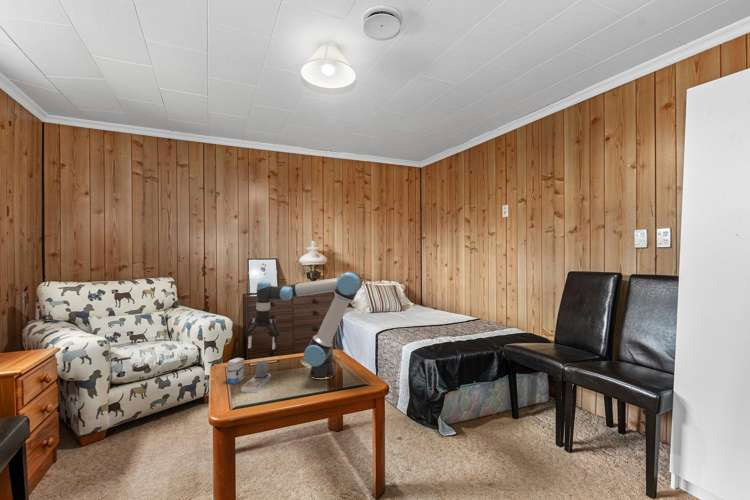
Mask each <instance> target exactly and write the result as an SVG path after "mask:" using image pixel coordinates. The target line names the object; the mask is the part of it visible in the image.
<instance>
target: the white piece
mask: <svg viewBox="0 0 750 500" xmlns="http://www.w3.org/2000/svg"><path fill="white" fill-rule="evenodd" d="M271 379H272V373H267V377H266V378H255V375H254V376H253V377H251V378H250V379H249V380H247V381H246V382H245V383H243V384H242V386H241V387H240V392H241V393H258V392H260V390H261V389H262V388H263V387H264V386H265V385H266V384H267V383H268V382H269V381H270V380H271Z"/></svg>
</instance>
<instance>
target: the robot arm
mask: <svg viewBox="0 0 750 500" xmlns="http://www.w3.org/2000/svg"><path fill="white" fill-rule="evenodd" d="M362 286H363V278H362V277H361V275H360V274H359V273H357V272H354V271H350V272H344V273H343V274H341V275H338V276H337V277H332V278H327V279H320V280H311V281H307V282H300V283H299V282H298V283H295V284H294V283H293V284H287V285H281V286H280V285H279V286H275V285H272V283H271V282H268V281H262V282H257V285H256V302H255V303H256V304H255V307H256V308H255V310H256V311H255V318H254V317H251V318H250V319H249V322H248V325H247V327H246V329H245V330H244V333H243V336H246V342H247V343H248V344H247V347H248V349H251V348H252V339H253V336H252V334H253V333H254V331H255V330H257V328H258V327H259V328H261V327H263V328H265V327H266V328H267V329H268V331H269V332H270V333H271V334H272V336H273V337H272V343H271V344H272V346H271V347H272V349H271V350H275V349H276V343H277V342H278V337H281V331H280V329H279V327H278V325H277V322H276V318H272V319H271V310H270V309H271V301H273V300H275V301H290V300H292V298H296V297H302V296H310V295H318V294H325V293H326V294H327V293H332V292H333V293H334V298H333V299H332V302H331V304H330V305H329V309H328V310H327V313H326V315H325V316H324V319H323V321H322V323H321V325H320V327H319V330H318V331H317V333H316V334H315V335H313V337H311V340H310V342H309V344H308V346H307V347H306V348H305V349H304V353H303V358H304V360H305V362H306V363H307V364H308V365H309V366H311V367H310V370H309V372H308V376H310V377H314V378H325V377H331V376H333V375H335V376H336V374H335V373H336V369H335V366H334V361H333V359H334V336H335V334H336V333H337V330H338V327H339V325H340V323H341V321H342V319H343V318H344V314H345V313H346V310H347V308H348V306H349V304H350V303H351V302H353V301H354V300H355V298H356V296H357V295H358V292H359V291H360V290H361V289H362ZM254 322H255V324H254V326H253V327H252V325H253V323H254ZM270 323H271V324H272V326H271V324H270ZM251 327H252V328H251ZM250 329H251V330H250ZM310 377H309V378H310Z"/></svg>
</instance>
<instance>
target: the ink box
mask: <svg viewBox="0 0 750 500" xmlns="http://www.w3.org/2000/svg"><path fill="white" fill-rule="evenodd" d="M244 367H245V358H241V357H235V358H233V359H230V360H228V362H227V381H226V382H227V384H230V385H231V384H232V385H235V384H237V383H240V382H241V381H242V380H243V381H244V375H245V374H244V370H245V368H244Z"/></svg>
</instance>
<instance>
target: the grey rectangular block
mask: <svg viewBox="0 0 750 500" xmlns="http://www.w3.org/2000/svg"><path fill="white" fill-rule="evenodd" d="M268 364H269V363H268V361H257V362H256V363H255V371H254V372H255V375H254V376H255V378H266V377H267V374H268V368H269V367H268Z"/></svg>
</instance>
